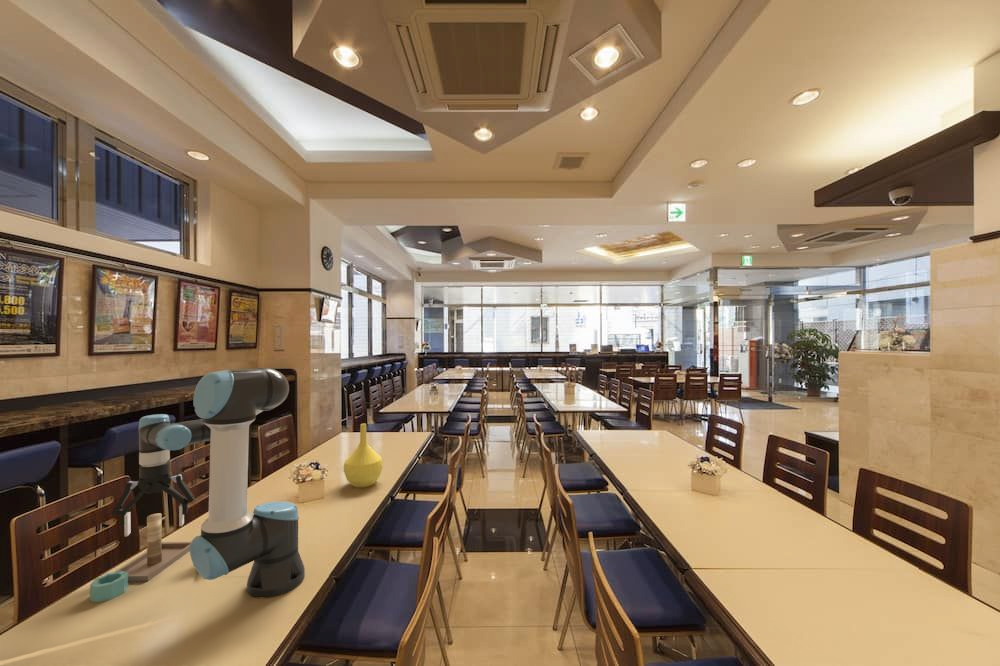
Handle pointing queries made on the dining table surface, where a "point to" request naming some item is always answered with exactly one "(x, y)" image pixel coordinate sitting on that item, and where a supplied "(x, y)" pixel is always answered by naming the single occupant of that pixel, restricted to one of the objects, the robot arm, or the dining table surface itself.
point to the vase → (363, 463)
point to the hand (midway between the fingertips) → (155, 529)
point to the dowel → (154, 539)
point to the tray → (144, 572)
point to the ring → (108, 586)
